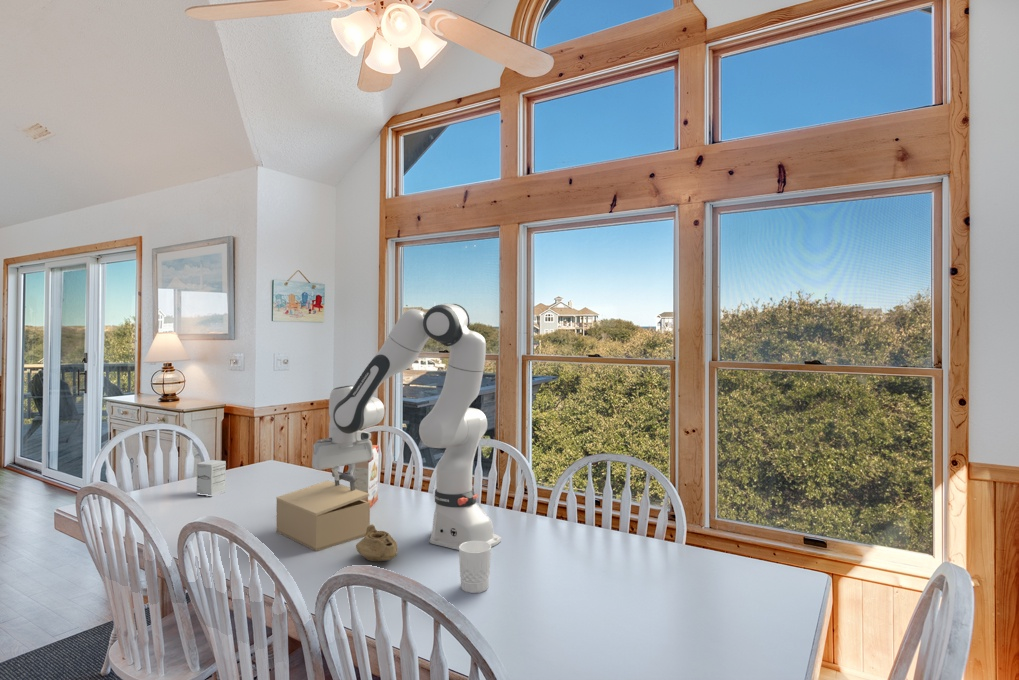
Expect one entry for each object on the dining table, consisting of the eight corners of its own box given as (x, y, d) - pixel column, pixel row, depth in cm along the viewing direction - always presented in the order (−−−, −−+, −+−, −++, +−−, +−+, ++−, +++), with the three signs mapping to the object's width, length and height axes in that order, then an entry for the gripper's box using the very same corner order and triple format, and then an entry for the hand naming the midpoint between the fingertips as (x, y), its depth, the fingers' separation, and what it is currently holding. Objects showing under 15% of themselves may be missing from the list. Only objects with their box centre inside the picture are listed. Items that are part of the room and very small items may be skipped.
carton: (369, 534, 172) (369, 502, 172) (316, 551, 158) (316, 516, 158) (328, 518, 188) (328, 488, 188) (276, 531, 174) (276, 500, 174)
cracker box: (369, 511, 195) (369, 451, 195) (352, 511, 195) (352, 451, 195) (379, 499, 209) (379, 444, 209) (363, 499, 209) (363, 444, 209)
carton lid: (369, 496, 172) (367, 478, 171) (316, 516, 158) (314, 497, 158) (328, 482, 188) (326, 466, 187) (276, 499, 174) (274, 482, 174)
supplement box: (195, 495, 214) (195, 463, 214) (211, 490, 221) (211, 459, 221) (211, 497, 211) (211, 464, 211) (226, 492, 219) (226, 460, 218)
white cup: (474, 577, 141) (474, 538, 141) (497, 586, 136) (497, 545, 136) (452, 588, 135) (452, 547, 135) (475, 597, 130) (475, 555, 130)
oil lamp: (380, 572, 144) (380, 541, 144) (347, 557, 154) (347, 529, 154) (413, 559, 153) (413, 530, 153) (379, 546, 162) (379, 519, 162)
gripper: (318, 441, 168) (318, 487, 168) (375, 433, 184) (375, 474, 184) (308, 439, 173) (308, 483, 173) (364, 431, 188) (364, 471, 188)
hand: (343, 478), depth 178 cm, fingers open, 2 cm apart
